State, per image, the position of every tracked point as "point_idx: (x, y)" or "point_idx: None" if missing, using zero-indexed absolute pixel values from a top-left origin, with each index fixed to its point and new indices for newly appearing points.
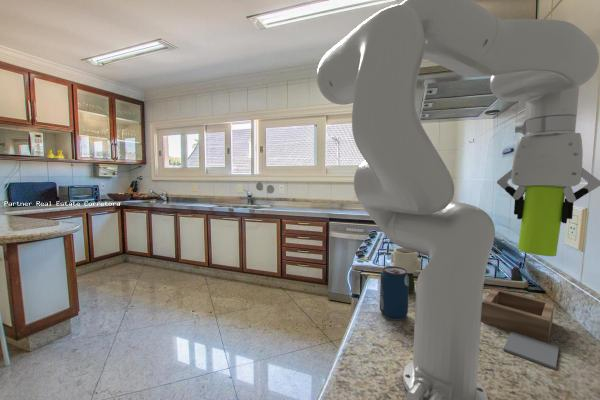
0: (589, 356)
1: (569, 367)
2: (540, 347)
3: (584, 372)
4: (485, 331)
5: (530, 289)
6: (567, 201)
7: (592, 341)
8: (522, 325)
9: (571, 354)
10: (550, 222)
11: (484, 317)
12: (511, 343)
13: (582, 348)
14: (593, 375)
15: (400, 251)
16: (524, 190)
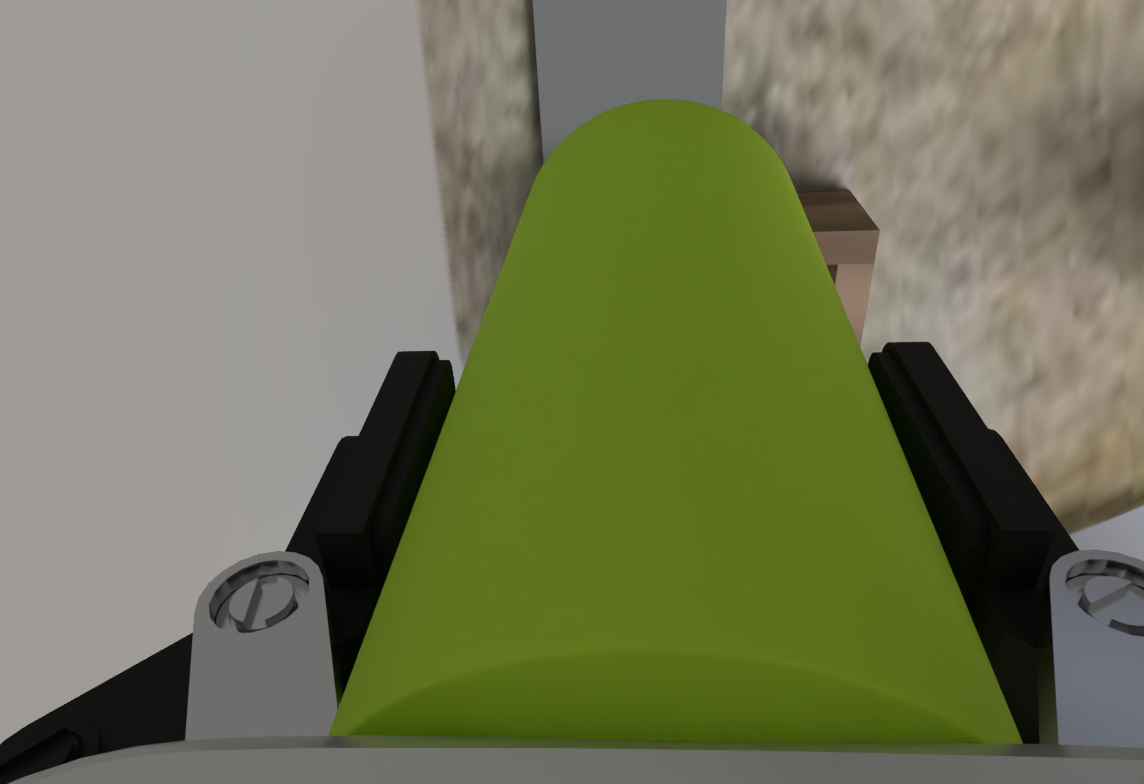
0: (455, 204)
1: (495, 34)
2: (599, 106)
3: (450, 39)
4: (819, 92)
5: None
6: (335, 594)
7: (463, 348)
8: None
9: (503, 166)
10: (542, 264)
11: (841, 199)
12: (703, 36)
13: (481, 256)
14: (424, 42)
15: None
16: (1049, 743)
